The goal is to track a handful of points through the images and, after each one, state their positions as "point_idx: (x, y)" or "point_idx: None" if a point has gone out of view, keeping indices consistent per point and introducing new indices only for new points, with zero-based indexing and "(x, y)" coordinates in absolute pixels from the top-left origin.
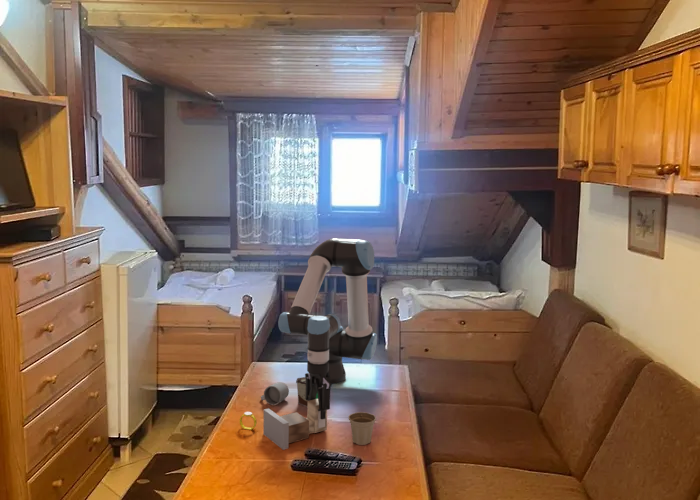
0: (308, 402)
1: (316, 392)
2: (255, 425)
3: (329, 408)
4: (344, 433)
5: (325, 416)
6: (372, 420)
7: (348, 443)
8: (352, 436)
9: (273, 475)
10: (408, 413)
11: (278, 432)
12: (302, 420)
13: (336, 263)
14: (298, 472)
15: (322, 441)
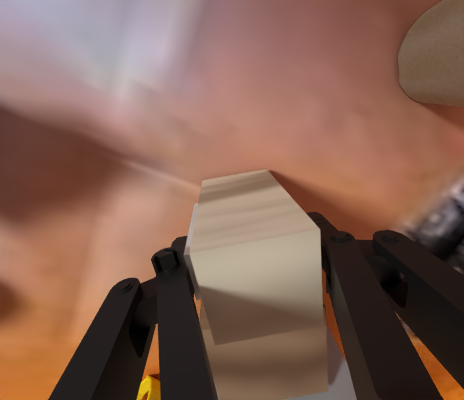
0: (227, 336)
1: (202, 343)
2: (154, 384)
3: (402, 237)
4: (322, 97)
5: (324, 218)
6: None
7: (414, 126)
8: (443, 104)
9: (430, 376)
10: None
11: None
12: (307, 330)
13: None
14: None
15: (339, 216)
